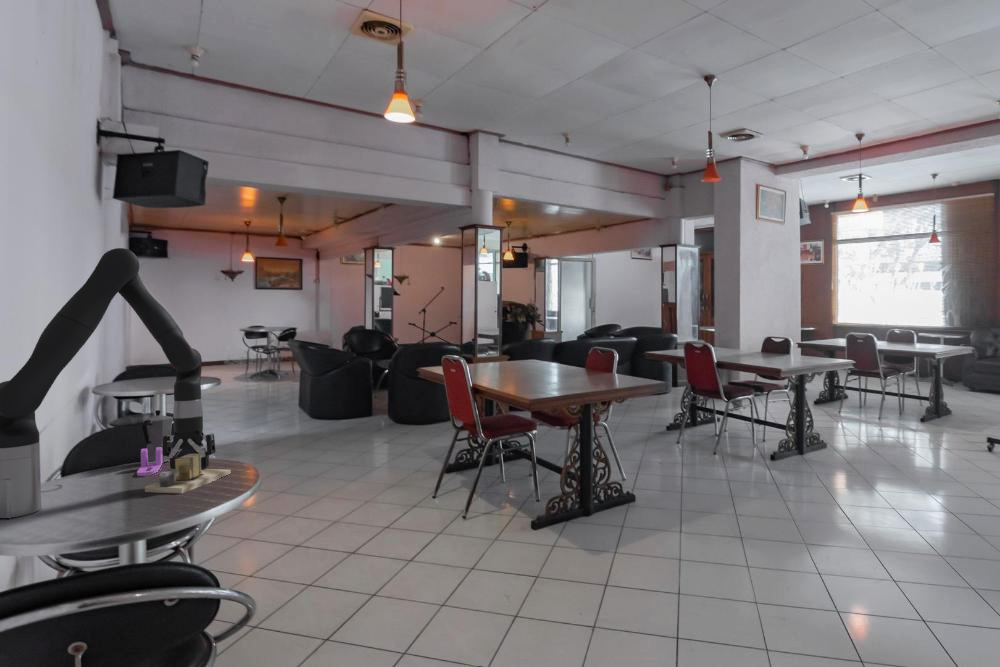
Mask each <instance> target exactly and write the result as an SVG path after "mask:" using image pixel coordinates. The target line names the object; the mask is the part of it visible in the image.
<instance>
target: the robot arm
mask: <svg viewBox="0 0 1000 667" xmlns="http://www.w3.org/2000/svg"><path fill="white" fill-rule="evenodd" d="M139 271H140V261H139V258H138V257H137V255H136V254H135V253H134V252H133V251H132V250H130V249H128V248H122V247H117V248H113V249H110V250H107V251H106V252H105V253H103V255H101V258H100V259H99V261H98V262H97V265H96V266H95V267H94V269H93V271H92V272H91V274H90V275H89V277H88V279H87V280H86V281H85V282H84V284H82V286H81V287H80V288H79V289H78V290H77V291H76V292H75V293H74V294H73V295H72V296H71V297H70V298H69V299H68V301H67V302H66V303H65V304H64V305H62V307H61V309H60V310H58V311H57V313H56V314H55V316H54V317H53V318H52V319H51V320H50V321H49V323H48V324H47V325H46V326H45V328H44V330H43V331H42V332H41V334H40V336H39V338H38V339H37V342H36V344H35V346H34V349H33V351H32V353H31V354H30V356H29V358H28V360H27V361H26V362H25V364H24V365H23V366H22V367H21V368H20V369H19V370H18V372H16V374H15V375H13V377H12V378H10V380H4V381H1V382H0V518H9V519H12V517H13V518H16V517H23V516H27V515H31V514H33V513H36V512H38V511H40V510H42V485H41V484H42V482H41V454H40V453H41V447H40V444H41V443H40V441H41V439H40V431H39V429H38V426H37V422H36V411H37V410H38V409H39V408H40V406H41V404H42V403H43V402H44V399H45V397H46V396H47V395H48V393H49V391H50V389H51V387H52V386H53V385H54V383H55V381H56V379H57V378H58V376H59V375H60V374H61V373H62V371H63V370H64V369H65V368H66V367H67V365H68V364H69V363H70V362H71V361H72V360H73V359H74V357H76V355H77V354H78V353H79V351H80V350H81V349H82V347H84V346H85V344H86V343H87V341H88V340H89V338H90V337H91V336H92V335H93V334H94V332H95V330H96V329H97V328H98V326H99V325H100V323H101V321H102V319H103V318H104V316H105V314H106V312H107V310H108V308H109V306H110V304H111V302H112V301H113V299H114V298H115V297H116V295H117V294H119V295H120V296H121V297H122V298H123V300H125V301H126V302H127V303H128V304H129V306H130V307H131V308H132V310H133V311H134V312H135V313H136V315H137V316H138V318H139V319H140V320H141V322H142V324H143V325H144V326H145V328H146V329H147V330H148V331H149V333H150V334H151V336H152V337H153V339H154V340H155V341H156V342H157V344H158V345H159V346H160V347H161V348H160V349H162V351H163V353H164V355H165V356H166V359H167V360H168V362H169V363H170V364H171V366H172V367H173V368H174V369H175V379H176V380H175V382H174V385H173V410H172V411H173V413H172V414H173V431H174V435H172V433H171V434H169V435H166V436H164V437H163V456H168V457H169V458H170V462H169V467H170V469H176V465H175V459H177V458H179V456H178V455H179V454H180V452H181V451H186V450H191V451H193V450H195V451H196V452H197V454H200V455H201V456H202V457H201V470H205V469H208V467H209V465H210V462H209V461H210V459H209V457H210V456H211V455H213V454H215V453H216V441H215V434H214V433H209V434H204V430H203V429H204V416H203V415H204V411H203V409H204V408H203V402H202V386H201V378H202V367H203V366H202V365H203V364H202V363H203V360H202V355H201V353H200V352H199V351H198V349H196V348H192V346H191V345H190V343H189V342H188V341H187V340H186V338H185V337H184V333H183V331H182V329H181V328H180V326H179V325H178V324H177V321H175V319H174V318H173V317H172V315H171V314H170V313H169V312H168V311H167V309H165V307H164V306H163V305H162V304H161V303H159V301H157V299H156V298H154V296H152V294H151V293H150V292H149V290H148V288H146V286H145V284H144V283H143V280H142V278H141V276H140V274H139ZM203 441H204V442H206V444H204V443H203ZM173 442H175V446H174V447H172V443H173ZM171 450H172V452H171Z"/></svg>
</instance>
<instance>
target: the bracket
mask: <svg viewBox="0 0 1000 667" xmlns="http://www.w3.org/2000/svg"><path fill="white" fill-rule="evenodd" d="M162 463H163V457H162V447H156V463H153V464H148V450H147V448H141V449H140V468H139V469H138V470H137V471H136V476H137V475H138V476H145V477H147V476H146V475H151V474H154V473H156V472H158V470H159V469H160V467H161V465H162ZM163 464H164V463H163ZM147 469H151V470H150V471H146V470H147ZM160 470H161V469H160ZM158 473H159V472H158ZM138 476H137V477H138Z"/></svg>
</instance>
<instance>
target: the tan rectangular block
mask: <svg viewBox="0 0 1000 667" xmlns="http://www.w3.org/2000/svg"><path fill="white" fill-rule="evenodd" d="M201 457H202V456H201V455H200V454H199V453H188V454H185V455H183V456H180V457H178V458H177V459H175V465H176V469H178V476H177V477H176V480H190V479H193V478H194V477H196V476H198V475H201V474H202V470H201Z"/></svg>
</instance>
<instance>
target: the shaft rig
mask: <svg viewBox="0 0 1000 667" xmlns="http://www.w3.org/2000/svg"><path fill="white" fill-rule="evenodd" d="M231 471H232V470H231V469H220V468H219V469H218V468H207V469H205V470H202V474H201V475H198V476H196V477H194V478H193V479H190V480H176V477H177V476H178V469H171V468H170V469H168V470H164V471H162V472H161V471H160V472H159V481H157V482H154V483H152V484H148V485H146V486H144V492H145V493H157V494H159V493H160V494H161V493H162V494H163V493H164V494H185V493H186V492H190V491H192V490H194V489H197V488H199V487H202V486H205V485H207V484H211V483H213V482H215V481H217V479H218V480H220V479H222V478H221V477H223V476H226V475H228V474H230V473H232V472H231ZM228 476H229V475H228ZM226 477H227V476H226ZM219 478H220V479H219ZM223 478H224V477H223ZM212 481H213V482H212Z"/></svg>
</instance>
